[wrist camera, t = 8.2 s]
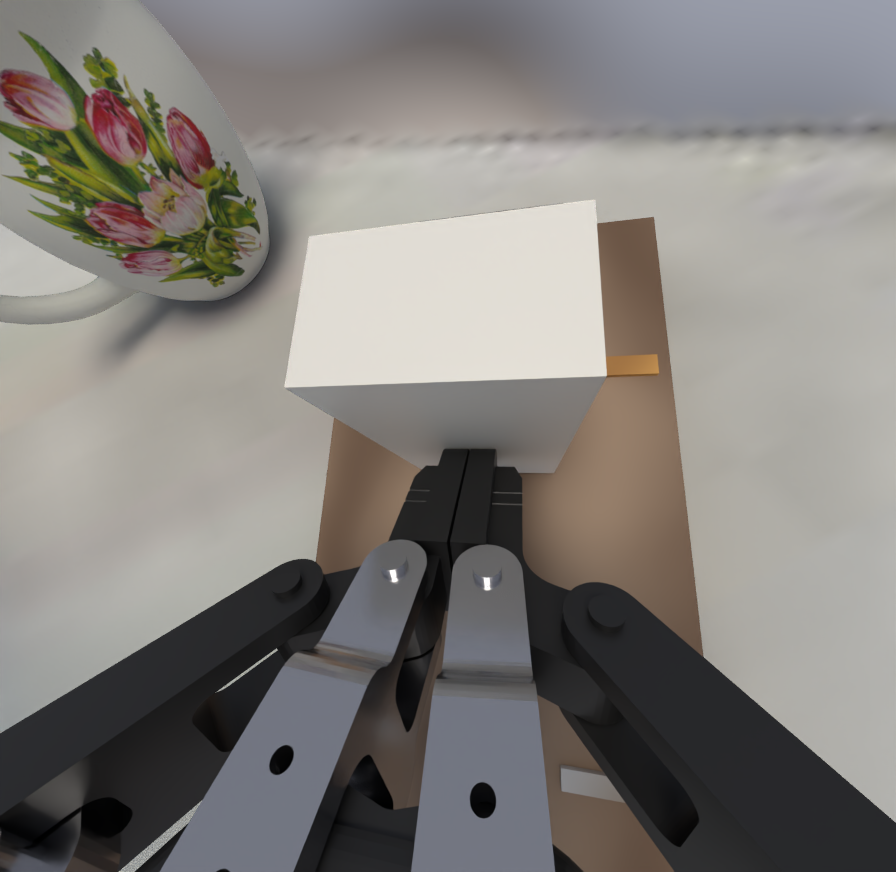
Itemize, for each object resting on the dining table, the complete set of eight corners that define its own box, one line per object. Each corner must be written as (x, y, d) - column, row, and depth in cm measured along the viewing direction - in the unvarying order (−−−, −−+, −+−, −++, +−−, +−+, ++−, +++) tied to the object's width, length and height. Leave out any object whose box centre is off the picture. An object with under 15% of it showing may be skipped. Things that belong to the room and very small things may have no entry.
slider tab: (424, 471, 15) (284, 388, 6) (428, 400, 15) (309, 236, 7) (554, 473, 14) (607, 376, 5) (551, 397, 14) (595, 198, 6)
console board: (306, 850, 14) (227, 968, 10) (370, 277, 20) (336, 219, 17) (708, 951, 11) (802, 1163, 8) (639, 250, 18) (671, 173, 14)
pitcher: (77, 323, 24) (-436, 86, 11) (262, 137, 25) (-13, -278, 12) (153, 423, 21) (-455, 247, 8) (363, 203, 22) (131, -274, 9)
